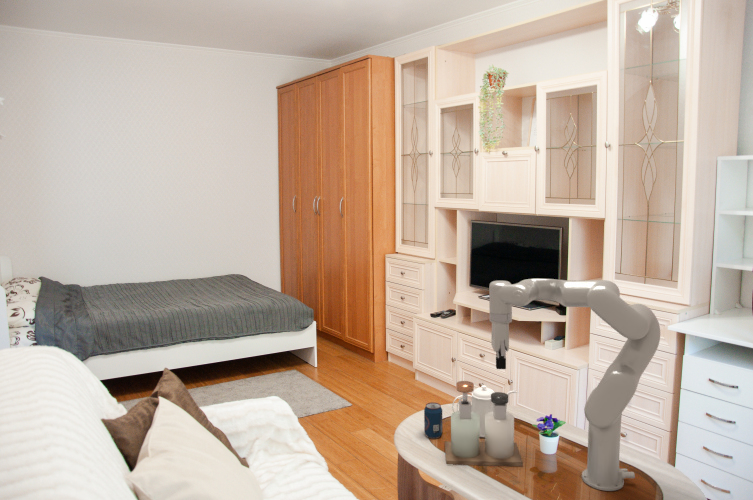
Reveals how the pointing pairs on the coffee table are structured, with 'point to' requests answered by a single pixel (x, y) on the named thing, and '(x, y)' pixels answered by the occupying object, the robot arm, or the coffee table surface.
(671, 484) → the coffee table surface
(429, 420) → the soda can
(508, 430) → the frosted white jar
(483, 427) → the coffeepot
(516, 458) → the walnut tray
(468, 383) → the brown rounded piece
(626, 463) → the coffee table surface
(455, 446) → the pale green bottle
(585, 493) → the coffee table surface
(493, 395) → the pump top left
